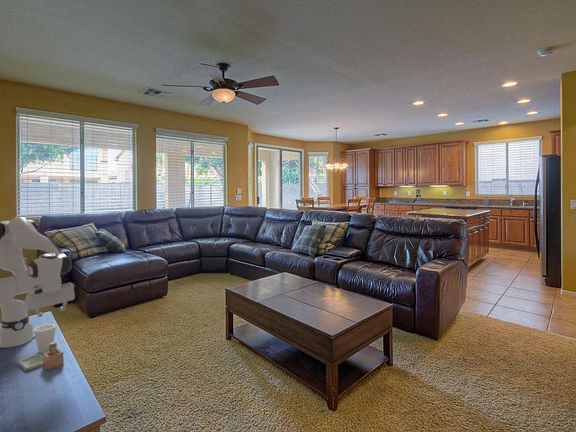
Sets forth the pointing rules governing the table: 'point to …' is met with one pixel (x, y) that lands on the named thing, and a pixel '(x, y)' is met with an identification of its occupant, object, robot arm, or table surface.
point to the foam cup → (44, 337)
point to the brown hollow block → (53, 360)
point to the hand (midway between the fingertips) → (51, 313)
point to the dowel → (52, 348)
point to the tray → (31, 362)
